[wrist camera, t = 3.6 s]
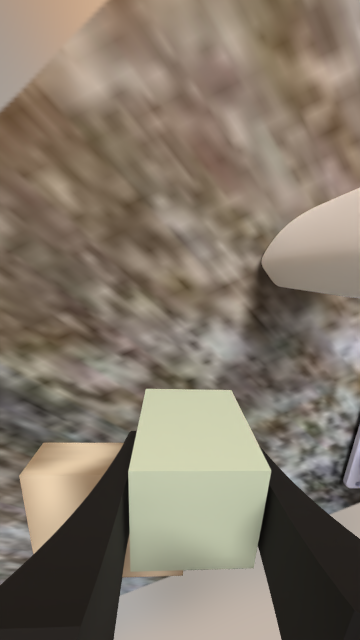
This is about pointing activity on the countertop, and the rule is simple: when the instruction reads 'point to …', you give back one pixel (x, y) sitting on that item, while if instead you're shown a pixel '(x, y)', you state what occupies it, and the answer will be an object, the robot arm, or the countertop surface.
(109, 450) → the block
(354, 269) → the eye dropper bottle
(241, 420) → the green cube
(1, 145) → the countertop surface
